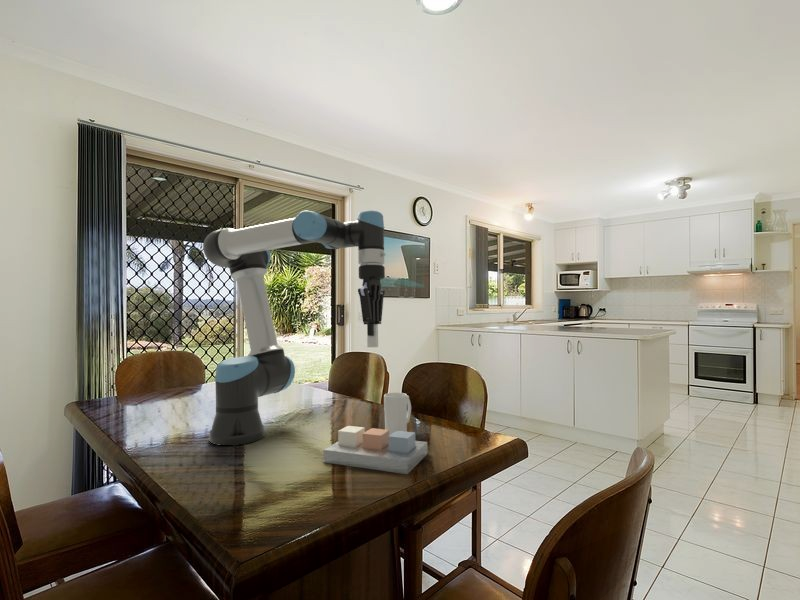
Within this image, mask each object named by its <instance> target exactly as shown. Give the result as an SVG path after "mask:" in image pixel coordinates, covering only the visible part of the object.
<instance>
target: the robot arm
mask: <svg viewBox="0 0 800 600" xmlns="http://www.w3.org/2000/svg"><path fill="white" fill-rule="evenodd" d="M384 222H385V221H384V216H383V213H381V212H379V211H377V210H362V211H360V212H359V213H357V219H356V220H353V221H344V222H343V221H339V220H337V219H334V218H331V217H329V216H326V215H323V214H321V213H319V212H316V211H311V210H302V211H300V212H299V213H298V214H297V215H296V216H295V217H293V218H288V219H282V220H277V221H273V222H268V223H263V224H258V225H254V226H253V225H252V226H248V227H244V228H238V229H235V228H231V227H226V228H222V229H221V228H220V229H217V230H214V231H212V232H210V233H209V234H207V236H206V237H205V238H204V241H203V246H202V249H203V250H202V251H203V254H204V256H205V257H206V259H207V260H208V261H209V262H211V264H213V265H215V266H216V267H221V268H228V269H229V273H230V277H231V279H233V280H235V281H236V283H237V288H238V293H239V297H240V303H241V309H242V313H243V319H244V323H245V327H246V328H245V329H246V333H247V339H248V343H249V348H250V351H249V353H248V355H245V356H242V355H241V356H238V357H231V358H226V359H224V360H222V361H220V362H219V363H218V364H217V365H216V368H215V375H214V380H215V415H214V419H213V422H212V426H211V430H210V432H209V434H208V442H209V441H210V442H212V443H215V444H220V445H233V446H240V445H239V444H241V445H246V443H247V444H250V443H254V442H257V441H260V439H263V438H264V437H265V426H264V424H263V422H262V418H261V414H260V410H259V398H260V397H264V396H267V395H273V394H277V393H279V392H281V391H284V390H287V389H288V388H289V387H290V386H291V384H292V382H293V381H294V379H295V375H296V367H295V364H294V362H293V360H292V359H291V358H290V357H288V356H287V355H285V351H284V348H283V347H281V346H280V345H279V344H278V339H277V335H276V330H275V327H274V321H273V316H272V312H271V307H270V301H269V297H268V292H267V288H266V287H267V286H266V283H265V278H264V277H265V276H266V274H267V272H268V270H267V269H268V267H269V266H270V262H271V259H272V258H271V256H272V254H271V250H276V249H277V250H278V249H282V248H286V247H287V248H288V247H293V246H299V245H306V244H312V243H318V244H322V246H324V248H326V249H329V250H332V249H333V250H340V249H346V248H354V247H356V248H357V247H358V248H357V249H358V257H357V258H358V262H357V263H358V265H359V267H358V279H360V280H362V285H361V286H362V287H361V288H360V287H359V288H358V289H357V292H358V296H359V300H360V301H359V302H360V308H361V316H362V323H363V325H366V328H367V331H366V333H367V335H366V336H367V339H366V341H367V344H366V345H367V346H366V347H367V348H378V347H379V325H382V319H383V310H384V309H383V308H384V307H383V306H384V298H385V297H384V296H385V292H386V291H385V290H384V289H382V285H381V280H384V279H385V276H386V275H385V272H386V271H385V269H386V268H385V266H384V264H385V256H386V253H385V226H384V225H385V224H384ZM210 442H209V443H210Z"/></svg>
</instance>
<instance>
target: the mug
mask: <svg viewBox="0 0 800 600" xmlns="http://www.w3.org/2000/svg"><path fill="white" fill-rule="evenodd" d="M383 409H384V429H385V430H389V436H390V435H391V434H393V433H394V432H395V431H405V432H408V423H410V418H411V413H412V404H411V400H410V396H409V395H407V393H404V392H388V393H385V394H384V395H383Z"/></svg>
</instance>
